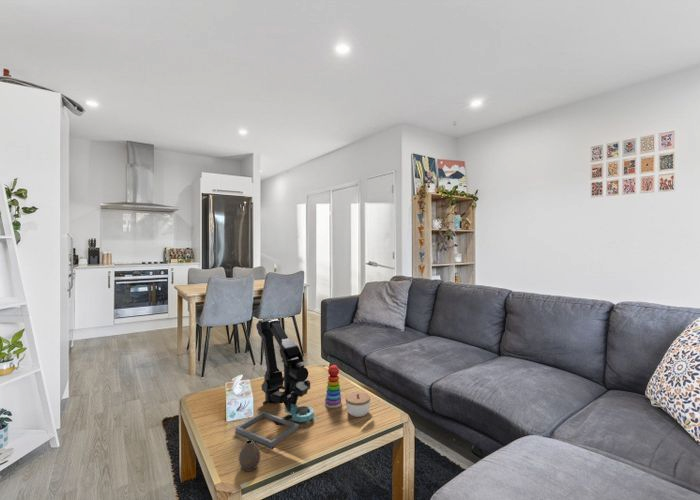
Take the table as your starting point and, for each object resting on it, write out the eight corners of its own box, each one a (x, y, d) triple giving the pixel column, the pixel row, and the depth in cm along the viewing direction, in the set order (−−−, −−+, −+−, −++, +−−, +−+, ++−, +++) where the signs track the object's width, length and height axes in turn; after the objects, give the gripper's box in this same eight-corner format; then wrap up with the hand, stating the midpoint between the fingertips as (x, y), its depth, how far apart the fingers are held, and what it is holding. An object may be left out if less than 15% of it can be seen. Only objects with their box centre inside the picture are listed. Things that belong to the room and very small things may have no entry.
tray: (235, 433, 136) (235, 427, 136) (263, 417, 149) (263, 411, 149) (271, 449, 126) (271, 442, 126) (298, 430, 138) (298, 424, 138)
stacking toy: (339, 410, 154) (339, 369, 153) (322, 409, 155) (322, 368, 155) (343, 402, 161) (343, 363, 161) (327, 401, 163) (326, 362, 163)
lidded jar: (340, 415, 150) (340, 394, 150) (357, 406, 158) (356, 386, 157) (359, 423, 142) (358, 401, 142) (375, 414, 150) (375, 393, 150)
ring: (279, 415, 146) (279, 408, 146) (294, 406, 153) (293, 399, 153) (304, 423, 139) (303, 416, 139) (317, 414, 146) (317, 407, 146)
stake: (285, 423, 143) (285, 410, 143) (301, 413, 152) (301, 401, 152) (304, 430, 138) (304, 417, 138) (319, 419, 146) (319, 406, 146)
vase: (241, 461, 119) (241, 436, 119) (261, 460, 120) (261, 435, 119) (236, 474, 112) (236, 448, 112) (258, 473, 113) (257, 446, 113)
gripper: (289, 386, 136) (290, 425, 136) (318, 371, 151) (319, 406, 152) (269, 380, 142) (270, 417, 142) (299, 366, 158) (300, 400, 158)
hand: (291, 410), depth 148 cm, fingers closed on ring, 2 cm apart
